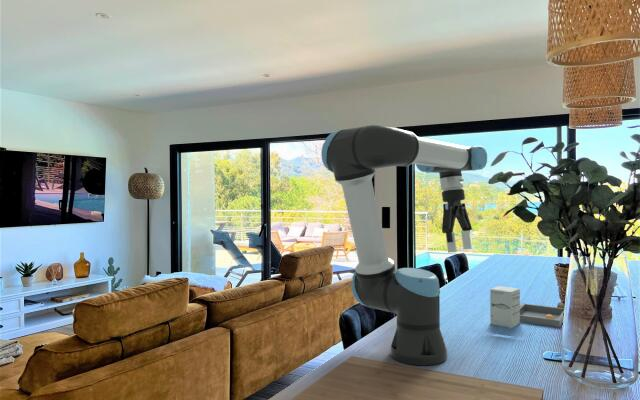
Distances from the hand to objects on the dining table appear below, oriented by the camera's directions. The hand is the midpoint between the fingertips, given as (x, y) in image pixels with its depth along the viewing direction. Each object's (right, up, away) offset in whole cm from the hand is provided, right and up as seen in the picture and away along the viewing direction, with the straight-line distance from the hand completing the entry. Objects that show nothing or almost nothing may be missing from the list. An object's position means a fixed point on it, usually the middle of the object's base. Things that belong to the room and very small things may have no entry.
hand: (460, 250), depth 156 cm
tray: (+28, -24, +1) cm, 37 cm away
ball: (+28, -24, -6) cm, 37 cm away
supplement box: (+13, -25, -5) cm, 29 cm away
